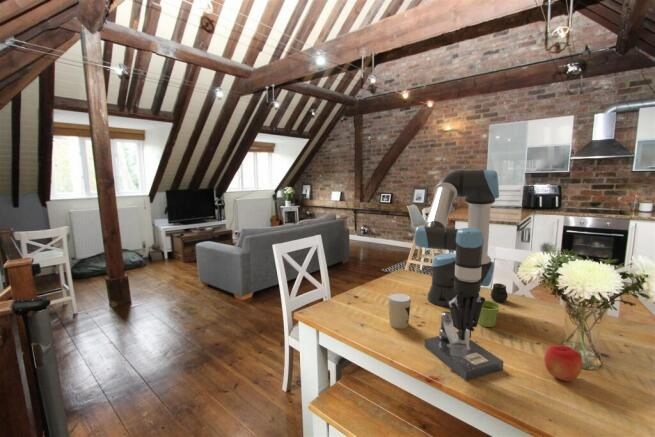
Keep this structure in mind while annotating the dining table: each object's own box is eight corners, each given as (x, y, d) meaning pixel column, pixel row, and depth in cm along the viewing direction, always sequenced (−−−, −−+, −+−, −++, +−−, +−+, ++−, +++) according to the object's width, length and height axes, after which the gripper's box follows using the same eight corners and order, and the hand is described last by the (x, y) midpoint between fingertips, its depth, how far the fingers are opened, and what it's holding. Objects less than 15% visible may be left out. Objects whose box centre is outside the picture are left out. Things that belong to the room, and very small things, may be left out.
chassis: (457, 338, 118) (457, 324, 117) (502, 369, 99) (504, 352, 98) (424, 346, 113) (424, 331, 112) (465, 380, 94) (467, 362, 93)
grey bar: (438, 326, 115) (439, 310, 114) (451, 327, 114) (452, 311, 113) (450, 359, 94) (451, 340, 94) (466, 360, 94) (467, 342, 93)
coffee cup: (411, 330, 124) (411, 302, 123) (387, 328, 126) (387, 300, 124) (409, 320, 133) (410, 293, 132) (387, 318, 135) (388, 292, 134)
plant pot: (470, 324, 129) (471, 305, 127) (477, 316, 135) (479, 298, 134) (495, 332, 122) (496, 311, 121) (501, 323, 129) (503, 304, 128)
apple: (588, 384, 92) (592, 353, 91) (565, 391, 89) (568, 359, 88) (556, 365, 101) (559, 337, 100) (534, 371, 98) (537, 341, 97)
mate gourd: (507, 299, 154) (508, 280, 152) (506, 305, 147) (508, 285, 146) (490, 296, 157) (492, 277, 156) (489, 302, 151) (491, 282, 149)
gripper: (475, 272, 102) (471, 338, 105) (442, 276, 98) (439, 345, 101) (493, 279, 94) (489, 350, 98) (458, 284, 91) (455, 358, 94)
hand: (464, 347), depth 100 cm, fingers closed
